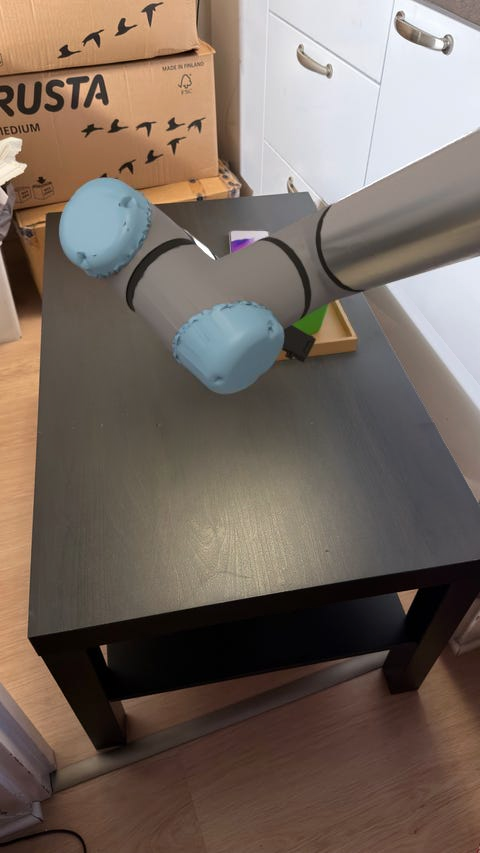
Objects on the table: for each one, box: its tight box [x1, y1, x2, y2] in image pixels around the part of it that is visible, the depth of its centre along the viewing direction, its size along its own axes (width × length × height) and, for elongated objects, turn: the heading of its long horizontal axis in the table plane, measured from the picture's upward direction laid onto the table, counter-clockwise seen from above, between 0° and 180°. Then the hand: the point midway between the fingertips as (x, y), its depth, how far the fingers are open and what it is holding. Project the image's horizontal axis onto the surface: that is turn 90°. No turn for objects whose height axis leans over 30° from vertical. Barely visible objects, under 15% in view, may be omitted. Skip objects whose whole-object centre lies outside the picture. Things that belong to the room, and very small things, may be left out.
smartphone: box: [228, 229, 271, 254], centre depth 104 cm, size 7×1×15 cm
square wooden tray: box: [275, 299, 359, 362], centre depth 91 cm, size 12×12×2 cm
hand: (261, 330), depth 81 cm, fingers open, 13 cm apart
